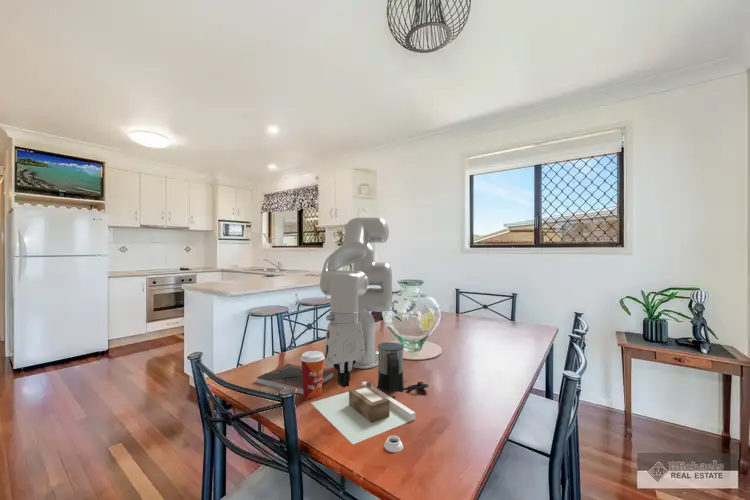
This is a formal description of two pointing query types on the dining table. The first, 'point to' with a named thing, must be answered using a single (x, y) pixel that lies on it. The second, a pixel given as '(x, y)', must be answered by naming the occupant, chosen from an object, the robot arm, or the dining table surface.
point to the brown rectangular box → (369, 403)
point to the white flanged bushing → (393, 444)
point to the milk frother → (392, 368)
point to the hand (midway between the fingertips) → (343, 385)
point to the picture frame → (288, 377)
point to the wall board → (354, 422)
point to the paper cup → (312, 373)
